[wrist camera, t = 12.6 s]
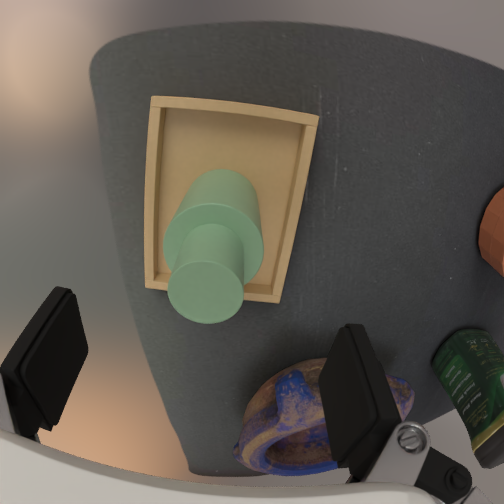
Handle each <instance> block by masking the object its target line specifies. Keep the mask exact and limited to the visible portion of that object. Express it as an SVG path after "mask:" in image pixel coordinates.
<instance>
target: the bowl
mask: <svg viewBox="0 0 504 504" xmlns="http://www.w3.org/2000/svg"><path fill="white" fill-rule="evenodd" d="M326 359H327V358H318V359H307V360H304V361H301V362H298V363H296V364H294V365H292V366H289V367H287V368H285V369H284V370H282V371H280V372H278V373H277V374H275V375H274V376H273V377H271V378H270V379H269V380H267V381H266V382H265V383H264V384H263V385H262V386H261V387H260V388H259V390H258V391H257V392H256V394H255V395H254V396H253V398H252V399H251V400H250V402H249V403H248V405H247V408H246V411H245V414H244V417H243V420H242V421H243V428H242V431H241V433H240V438H239V441H238V442H237V444H236V445H235V446H234V449H233V455H234V458H235V459H236V460H237V461H239V462H240V463H242V464H243V465H245V466H246V467H248V468H250V469H252V470H255V471H259V472H264V473H268V474H273V475H281V476H302V475H310V474H316V473H321V472H326V471H329V470H334V469H337V468H338V466H337V461H336V462H334V461H333V460H332V456H331V450H330V445H329V439H328V433H327V428H326V422H325V417H324V412H323V406H322V401H321V396H320V391H319V386H318V378H319V375H320V373H321V370H322V368H323V366H324V364H325V362H326ZM385 375H386V374H385ZM386 378H387V381H388V383H389V386H390V389H391V391H392V394H393V397H394V399H395V402H396V405H397V408H398V411H399V413H400V416H401V419H402V422H403V421H404V420H405V418H406V416H407V415H408V413H409V412H410V410H411V408H412V406H413V401H414V395H415V393H414V391H413V389H412V388H411V386H410V385H409V384H408V382H406V381H405V380H404V379H401V378H397V377H393V376H390V375H386Z"/></svg>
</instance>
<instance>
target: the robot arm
mask: <svg viewBox="0 0 504 504" xmlns="http://www.w3.org/2000/svg"><path fill="white" fill-rule="evenodd" d="M87 355H88V344H87V340H86V336H85V333H84V329H83V325H82V321H81V316H80V312H79V307H78V304H77V298H76V295H75V294H73V293H72V291H71V289H68V288H63V287H58V286H57V287H55V288H54V289H53V290H52V292H51V293H50V294H49V296H48V297H47V298H46V300H45V301H44V302H43V304H42V305H41V306H40V308H39V309H38V311H37V312H36V313H35V315H34V316H33V317H32V319H31V320H30V322H29V323H28V325H27V326H26V327H25V329H24V330H23V332H22V333H21V335H20V336H19V338H18V339H17V341H16V342H15V344H14V345H13V347H12V348H11V350H10V351H9V353H8V355H7V356H6V358H5V359H4V361H3V363H2V364H1V367H0V504H493V503H492V502H491V501H490V500H489V499H488V498H487V497H486V496H485V495H484V493H483V492H482V491H481V490H480V489H479V488H478V487H477V486H476V487H474V488H473V487H472V477H471V475H470V472H469V471H468V469H467V468H465V467H464V466H463V465H461V464H459V463H458V462H456V461H454V460H452V459H451V458H449V457H447V456H445V455H444V454H442V453H440V452H439V451H437V450H435V449H433V448H432V447H430V443H431V441H430V436H429V434H428V432H427V431H426V429H425V428H424V427H423V426H422V425H420V424H419V423H416V422H413V421H405V422H402V419H401V416H400V413H399V411H398V408H397V405H396V402H395V399H394V397H393V394H392V391H391V389H390V386H389V383H388V381H387V378H386V375H385V373H384V370H383V368H382V365H381V363H380V362H379V361H378V360H377V358H376V356H375V353H374V351H373V348H372V346H371V343H370V341H369V338H368V336H367V333H366V331H365V328H364V326H363V325H362V324H346V325H345V326H344V327H341V328H340V329H339V332H338V334H337V336H336V339H335V341H334V343H333V346H332V348H331V350H330V353H329V355H328V357H327V359H326V362H325V364H324V366H323V368H322V370H321V373H320V375H319V378H318V386H319V391H320V396H321V401H322V406H323V412H324V417H325V422H326V428H327V433H328V439H329V445H330V450H331V456H332V460H333V461H334V462H336V461H337V466H338V468H347V467H349V471H350V474H351V476H350V477H349V479H348V480H347V482H346V483H345V484H334V485H320V486H300V487H299V486H298V487H249V486H248V487H247V486H230V485H217V484H206V483H197V482H189V481H182V480H175V479H168V478H162V477H157V476H152V475H147V474H142V473H137V472H133V471H128V470H124V469H120V468H116V467H112V466H108V465H104V464H100V463H97V462H93V461H90V460H87V459H84V458H80V457H77V456H74V455H71V454H68V453H65V452H62V451H59V450H57V449H54V448H51V447H48V446H45V445H43V444H41V443H40V440H39V437H38V434H37V432H38V430H39V427H40V428H43V429H45V430H48V431H51V430H52V427H53V425H57V424H58V422H59V420H60V417H61V415H62V412H63V410H64V407H65V405H66V402H67V400H68V397H69V395H70V393H71V390H72V388H73V386H74V384H75V381H76V379H77V377H78V374H79V372H80V370H81V368H82V366H83V364H84V361H85V359H86V357H87Z"/></svg>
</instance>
